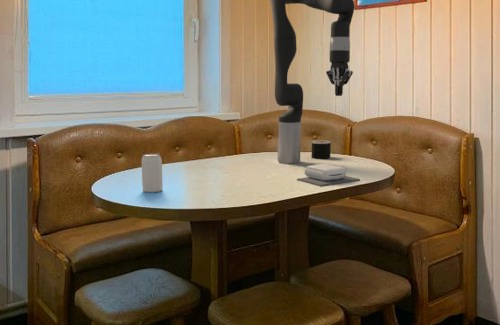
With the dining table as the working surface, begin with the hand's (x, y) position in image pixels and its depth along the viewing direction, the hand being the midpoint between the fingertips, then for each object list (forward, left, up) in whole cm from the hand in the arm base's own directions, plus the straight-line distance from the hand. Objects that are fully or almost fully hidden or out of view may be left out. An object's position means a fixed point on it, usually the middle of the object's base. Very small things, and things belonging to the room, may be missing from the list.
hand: (338, 95), depth 211 cm
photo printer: (+6, -16, -26) cm, 31 cm away
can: (-5, -75, -29) cm, 81 cm away
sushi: (-28, +15, -29) cm, 43 cm away
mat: (+14, -16, -29) cm, 36 cm away
